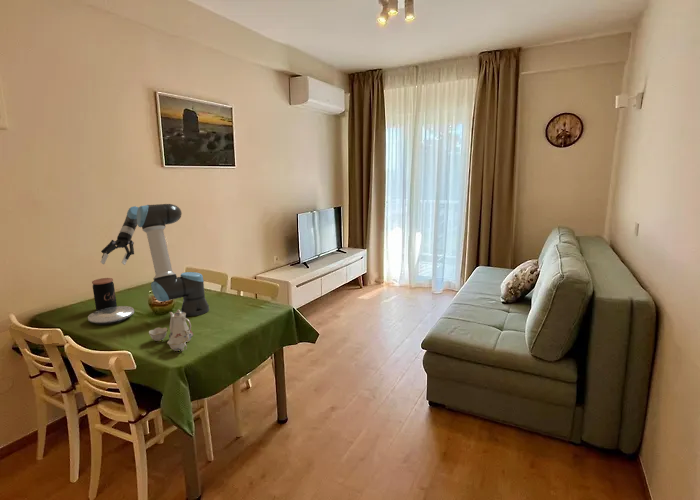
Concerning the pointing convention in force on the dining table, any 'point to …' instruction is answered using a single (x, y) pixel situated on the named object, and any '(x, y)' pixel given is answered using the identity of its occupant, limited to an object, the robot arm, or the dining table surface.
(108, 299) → the coffee jar
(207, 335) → the dining table surface
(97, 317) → the disc
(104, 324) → the turntable base
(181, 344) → the chinaware
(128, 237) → the robot arm
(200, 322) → the dining table surface
